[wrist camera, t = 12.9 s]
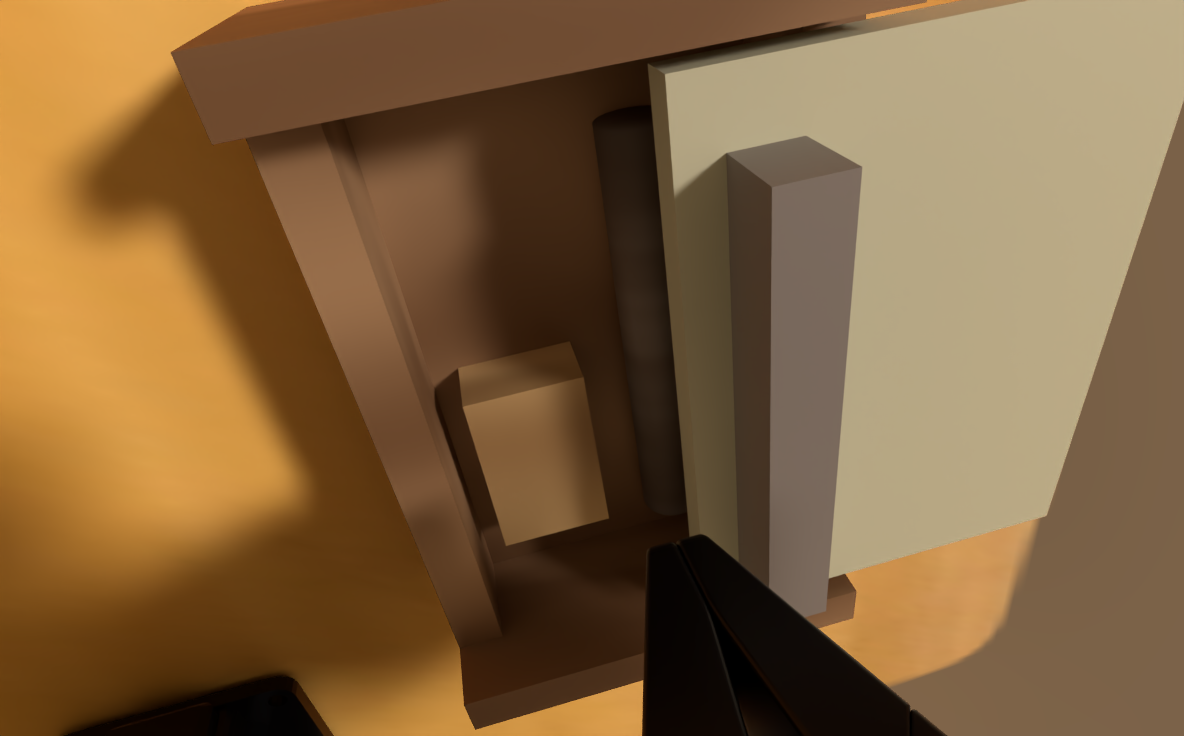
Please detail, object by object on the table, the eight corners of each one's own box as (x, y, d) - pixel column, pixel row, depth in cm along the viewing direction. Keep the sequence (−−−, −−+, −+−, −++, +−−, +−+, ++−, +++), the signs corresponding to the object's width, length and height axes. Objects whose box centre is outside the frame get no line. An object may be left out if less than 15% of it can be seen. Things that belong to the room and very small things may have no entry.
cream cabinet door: (1021, 492, 17) (1098, 564, 15) (693, 585, 16) (731, 673, 14) (1179, -44, 11) (1345, -34, 9) (648, 63, 10) (706, 99, 8)
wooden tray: (772, 490, 20) (852, 617, 16) (462, 575, 19) (475, 729, 15) (778, -90, 12) (937, -90, 8) (247, 6, 11) (170, 52, 8)
